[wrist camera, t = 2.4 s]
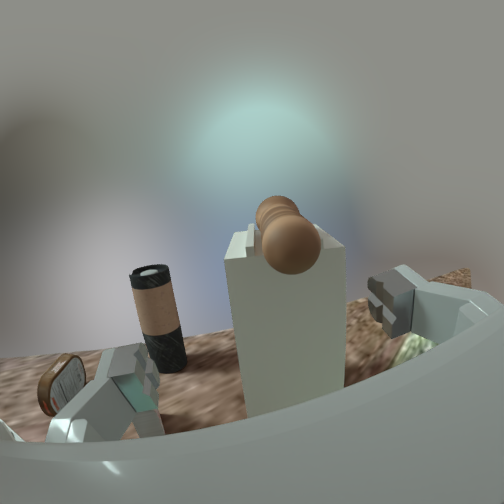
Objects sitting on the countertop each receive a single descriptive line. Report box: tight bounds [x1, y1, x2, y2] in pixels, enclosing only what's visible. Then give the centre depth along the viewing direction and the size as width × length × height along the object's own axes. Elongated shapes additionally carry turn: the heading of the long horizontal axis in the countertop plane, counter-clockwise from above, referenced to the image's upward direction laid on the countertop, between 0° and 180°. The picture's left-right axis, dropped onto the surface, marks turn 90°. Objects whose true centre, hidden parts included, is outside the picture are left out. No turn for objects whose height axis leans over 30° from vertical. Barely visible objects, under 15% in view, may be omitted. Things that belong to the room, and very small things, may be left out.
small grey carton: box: [132, 409, 166, 438], centre depth 39 cm, size 4×7×10 cm, turn 23°
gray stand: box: [224, 224, 346, 418], centre depth 41 cm, size 16×12×27 cm
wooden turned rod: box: [256, 196, 321, 275], centre depth 32 cm, size 22×5×5 cm, turn 0°
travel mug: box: [129, 264, 187, 373], centre depth 56 cm, size 8×8×20 cm
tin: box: [37, 353, 86, 417], centre depth 44 cm, size 15×3×8 cm, turn 2°
